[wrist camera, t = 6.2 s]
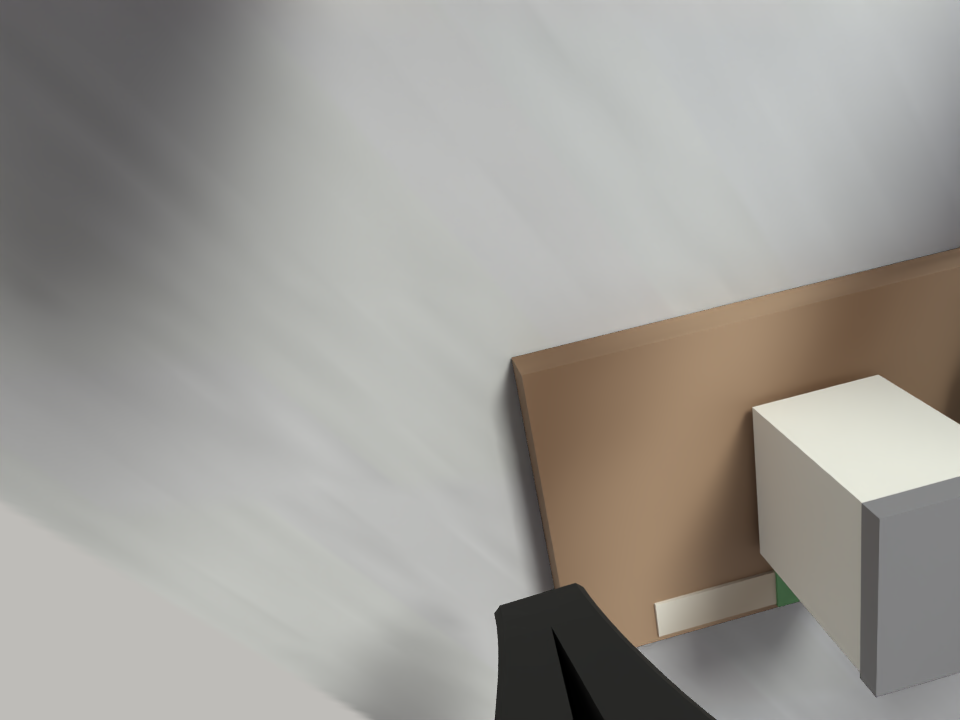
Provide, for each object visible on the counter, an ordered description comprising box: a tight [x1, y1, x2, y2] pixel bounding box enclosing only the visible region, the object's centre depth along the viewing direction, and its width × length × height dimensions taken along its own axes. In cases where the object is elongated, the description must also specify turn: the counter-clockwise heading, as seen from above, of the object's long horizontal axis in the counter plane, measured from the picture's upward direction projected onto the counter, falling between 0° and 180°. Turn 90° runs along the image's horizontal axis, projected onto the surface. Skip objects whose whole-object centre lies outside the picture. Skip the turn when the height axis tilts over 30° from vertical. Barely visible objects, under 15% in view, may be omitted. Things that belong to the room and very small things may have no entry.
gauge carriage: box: [752, 375, 960, 697], centre depth 17 cm, size 3×6×4 cm, turn 11°
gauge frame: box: [512, 248, 960, 647], centre depth 17 cm, size 14×8×6 cm, turn 101°
